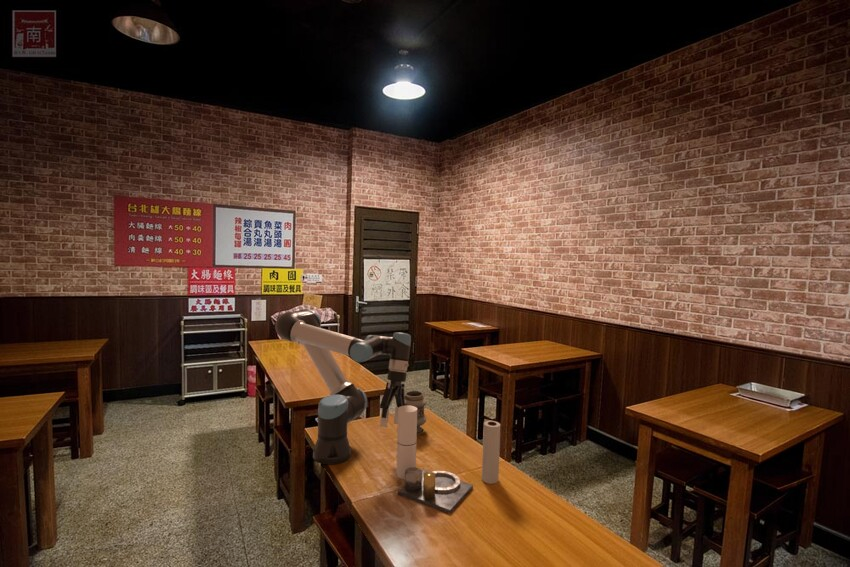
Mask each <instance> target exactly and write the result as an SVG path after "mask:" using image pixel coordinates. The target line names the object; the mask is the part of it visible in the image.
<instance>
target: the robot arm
mask: <svg viewBox="0 0 850 567" xmlns="http://www.w3.org/2000/svg"><path fill="white" fill-rule="evenodd" d="M321 323H322V321H321V316H320V315H319V314H318V313H317V312H316V311H314V310H312V309H305V308H303V309H299V310H293V311H288V312H285V313H281V315H279V317H278V318H277V319H276V321H275V325H274V328H275V332H276V334H277V335H278V337H279V338H281V339H283V340H285V341H289V342H290V343H291V342H292V343H296V344H298V345H299V346H303V347H304V349H305V350H306V352H307V353H308V355H309V357H310V359H311V361H312V362H313V365H314V366H315V368H316V369H317V372H318V373H319V374H320V377H321V379H323V382H324V383H325V386H326V387H327V388H328V390H329V392H330V394H329V395H326V396H325V397H323V398H322V399H320V401H319V402H318V405H317V406H318V409H317V438H316V441H315V445H314V449H313V450H312V458H313V460H314V461H315V462H316V463H317V464H322V465H336V464H341V463H345V462H346V461H347V460H349V459H350V458H351V456H352V447H351V445H350V441H349V438H348V424H350V423H351V422H353V421H354V420H355V419H357V418H359V417H361V415H362V414H363V413H364V412H365V411H366V409H367V405H368V397H367V394H366V393H365V392H364V391H363V390H362V389H361V388H357V387H356V385H355V384H354V383H353V382H350V381H348V379H347V378H346V376H345V374H344V373H343V370H342V369H341V367H340V366H339V364H338V362H337V361H336V358H334V355H333V354H332V352H334V353H338V354H341V355H345V356H347V357H351V359H352V360H353V361H354V362H356V363H363V362H364V363H365V362H367V361H369V360H371V359H372V358H375V357H377V356H379V355H386V356H390V357H389V363H388V372H387V380H388V381H389V382H386V384H385V385H386V386H385V389H384V393H383V396H382V399H381V402H380V404H379V408H380V409H381V416H380V422H379V423H380V424H379V427H382V428H388V423H389V422H388V421H389V416H390V409H389V408H390V406H391V404H392V401H393V399H394V398H395V402H396V403H395V404H396V407H395V409H394V417H393V424H395V425H398V408H399V407H401V406H405V386H406V385H405V383H404V382H406V381H407V375H408V374H407V373H406V372H407V371H408V367H409V366H410V365H409V358H410V353H411V352H410V350H411V342H412V337H411V334H408V333H405V332H393V335H392V336H383V335H378V334H377V335H376V334H369V335H367V336H365V338H364V339H362V338H361V339H360V338H357V337H355V336H352V335H351V336H350V335H346V334H343V333H339V332H336V331H332V330H329V329H326V328H323V327H322V324H321Z"/></svg>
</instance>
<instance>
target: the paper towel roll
mask: <svg viewBox="0 0 850 567" xmlns="http://www.w3.org/2000/svg"><path fill="white" fill-rule="evenodd" d="M482 436H483V437H482V439H483V440H482V458H481V459H482V463H481V467H482V470H481V480H482V482H484V483H486V484H488V485H490V484H492V485H495V484H497V483H498V482H499V476H500V475H499V474H500V472H499V471H500V451H501V450H500V449H501V448H500V446H501V445H500V444H501V423H500V422H499V421H496V420H490V419H486V418H484V420H483V435H482Z"/></svg>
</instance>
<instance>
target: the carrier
mask: <svg viewBox="0 0 850 567" xmlns="http://www.w3.org/2000/svg"><path fill="white" fill-rule="evenodd" d="M473 489H474V484H472V483H470V482H469V483H468V482H466V481H463V480H460V477H459V476H458V475H457V474H455V473H453V472H450V471H445V470H434V471H431V470H428V469H423V470H422V469H421V468H419V467H417V466H416V467H411V468H408V469H406V470H405V479H404V485H403V486H402V487H400V489H398V490H397V496H401V497H403V498H406V499H409V500H412V501H414V502H417V503H420V504H422V505H426V506H428V507H430V508H433V509H436V510H439V511H441V512H443V513H448V514H451V513H452V512H453V511H454V510H455V509H456V508H457V506H459V504H460V503H461V502H462V501H463V500H464V499H465V497H467V495H468V494H469V493H470V492H471V491H472V490H473Z"/></svg>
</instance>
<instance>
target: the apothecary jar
mask: <svg viewBox="0 0 850 567" xmlns="http://www.w3.org/2000/svg"><path fill="white" fill-rule="evenodd" d="M404 394H405V406H406V405H409V406H414V407H416V408H417V435H421V434H423V433H424V432H425V430H424V428H423V427H422V426H423V425H424V424H425V423H427V416H426V415H425V406H426V405H427V399H426V398H425V396H424V393H423V392H422V391H420V390H408V391H406V392H404ZM423 431H424V432H423Z"/></svg>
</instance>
